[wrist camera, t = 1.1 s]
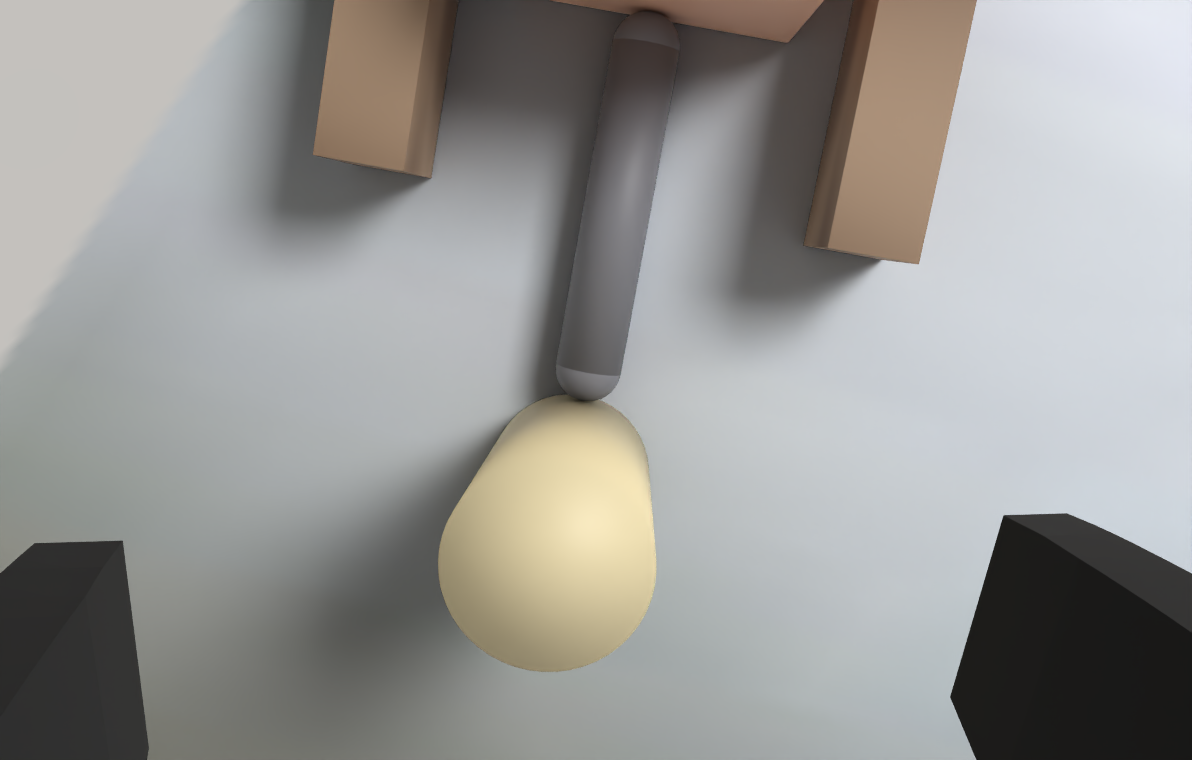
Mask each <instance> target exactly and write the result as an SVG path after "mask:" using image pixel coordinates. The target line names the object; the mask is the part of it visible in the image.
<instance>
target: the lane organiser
mask: <svg viewBox="0 0 1192 760" xmlns="http://www.w3.org/2000/svg"><path fill="white" fill-rule="evenodd" d="M458 1H459V0H334V6H333V14H332V21H331V28H330V35H329V42H328V49H327V57H326V64H325V71H324V78H323V85H322V92H321V100H320V107H319V114H318V121H317V128H316V135H315V143H314V150H313V155H316V156H320V157H324V158H329V159H333V160H337V161H341V162H346V163H350V164H355V165H360V166H366V167H371V168H377V169H383V170H388V171H394V172H399V173H405V174H410V175H416V176H421V177H427V178H431V175H432V169H433V163H434V156H435V150H436V143H437V137H438V130H439V124H440V117H441V111H442V104H443V98H444V92H445V85H446V79H447V72H448V66H449V59H450V53H451V46H452V40H453V33H454V27H455V21H456V14H457V8H458ZM976 2H977V0H853V5H852V10H851V15H850V20H849V25H848V30H847V34H846V39H845V44H844V49H843V54H842V59H841V64H840V69H839V74H838V79H837V83H836V88H835V93H834V98H833V103H832V108H831V113H830V118H829V123H828V127H827V132H826V137H825V142H824V147H823V152H822V157H821V162H820V167H819V172H818V176H817V181H816V186H815V191H814V196H813V201H812V206H811V211H810V216H809V220H808V225H807V230H806V235H805V240H804V245H803V246H809V247H814V248H820V249H825V250H831V251H836V252H842V253H848V254H853V255H859V256H864V257H870V258H875V259H881V260H888V261H896V262H904V263H912V264H919V261H920V256H921V252H922V247H923V243H924V238H925V234H926V229H927V225H928V220H929V215H930V211H931V206H932V202H933V197H934V193H935V188H936V184H937V179H938V175H939V170H940V165H941V161H942V156H943V152H944V147H945V143H946V138H947V134H948V129H949V124H950V120H951V115H952V111H953V106H954V102H955V97H956V93H957V88H958V83H959V79H960V74H961V70H962V65H963V61H964V56H965V52H966V47H967V42H968V38H969V33H970V29H971V24H972V20H973V15H974V11H975V6H976Z"/></svg>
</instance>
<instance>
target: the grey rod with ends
mask: <svg viewBox="0 0 1192 760" xmlns="http://www.w3.org/2000/svg"><path fill="white" fill-rule="evenodd" d="M551 1H556V2H562V3H567V4H573V5H579V6H584V7H590V8H595V9H601V10H606V11H612V12H618V13H623V14H629V15H630V16H628V17H627V18H626V19H624V20H623V21H622V22H621V24H620V25H619V26H618V28H617V30H616V32H615V34H614V37H613V41H612V47H611V52H610V58H609V64H608V69H607V75H606V81H605V86H604V92H603V98H602V104H601V109H600V115H599V121H598V126H597V132H596V138H595V144H594V149H593V155H592V161H591V166H590V172H589V178H588V184H587V189H586V195H585V201H584V206H583V212H582V218H581V224H580V229H579V235H578V241H577V246H576V252H575V258H574V263H573V269H572V275H571V281H570V286H569V292H568V298H567V303H566V309H565V315H564V321H563V326H562V332H561V338H560V343H559V349H558V355H557V361H556V376H557V379H558V382H559V384H560V386H561V387H562V389H563V390H564V391H565V392H566V393H567V394H566V395H557V396H551V397H548V398H544V399H542V400H539V401H537V402H535V403H533V404H531V405H529V406H528V407H526V408H524V409H523V410H522V411H521V412H519V413H518V414H517V415H516V416H515V417H514V418H513V419H512V420H511V421H510V422H509V424H508V425H507V426H506V428H505V429H504V431H503V432H502V434H501V435H500V437H499V439H498V440H497V442H496V443H495V445H494V446H493V448H492V450H491V451H490V453H489V454H488V456H487V458H486V459H485V461H484V462H483V464H482V466H481V467H480V469H479V470H478V472H477V474H476V475H475V477H474V478H473V480H472V482H471V483H470V485H469V486H468V488H467V489H466V491H465V493H464V494H463V496H462V497H461V499H460V501H459V502H458V504H457V505H456V507H455V509H454V510H453V512H452V514H451V516H450V518H449V519H448V521H447V524H446V526H445V529H444V532H443V534H442V538H441V543H440V547H439V556H438V575H439V581H440V587H441V591H442V594H443V597H444V600H445V603H446V605H447V607H448V609H449V612H450V614H451V616H452V617H453V619H454V620H455V622H456V623H457V625H458V627H459V628H460V629H461V630H462V631H463V633H464V634H465V635H466V636H467V637H468V638H469V639H470V640H471V641H472V642H473V643H474V644H475V645H476V646H477V647H479V648H480V649H482V650H483V651H484V652H486V653H487V654H489V655H490V656H492V657H494V658H496V659H498V660H500V661H501V662H504V663H507V664H509V665H512V666H514V667H518V668H522V669H526V670H532V671H540V672H558V671H566V670H572V669H576V668H579V667H583V666H586V665H588V664H591V663H593V662H596V661H598V660H600V659H602V658H603V657H605V656H607V655H609V654H610V653H611V652H613V651H614V650H615V649H617V648H618V647H619V646H621V645H622V644H623V643H624V642H625V641H626V640H627V639H628V638H629V637H630V636H631V634H632V633H633V632H634V631H635V629H636V628H637V627H638V625H639V624H640V622H641V620H642V619H643V617H644V615H645V614H646V611H647V609H648V607H649V604H650V602H651V599H652V595H653V591H654V587H655V579H656V552H655V540H654V528H653V515H652V503H651V491H650V478H649V466H648V459H647V454H646V451H645V447H644V444H643V442H642V440H641V438H640V436H639V434H638V432H637V431H636V429H635V428H634V426H633V425H632V424H631V423H630V421H629V420H628V419H627V418H626V417H625V416H624V415H623V414H622V413H620V412H619V411H618V410H616V409H615V408H614V407H612V406H610V405H608V404H607V403H605V402H603V401H600V400H599V399H602V398H603V397H605V396H607V395H608V394H609V393H611V392H612V390H613V389H614V388H615V387H616V385H617V383H618V381H619V378H620V375H621V369H622V364H623V358H624V353H625V347H626V342H627V337H628V331H629V326H630V320H631V315H632V309H633V304H634V298H635V293H636V288H637V282H638V277H639V271H640V266H641V260H642V255H643V249H644V244H645V239H646V233H647V228H648V222H649V217H650V211H651V206H652V200H653V195H654V190H655V184H656V179H657V173H658V168H659V162H660V157H661V151H662V146H663V141H664V135H665V130H666V124H667V119H668V113H669V108H670V103H671V97H672V92H673V86H674V81H675V75H676V70H677V64H678V59H679V54H680V39H679V36H678V33H677V30H676V28H675V27H674V25H673V24H672V23H671V22H673V23H679V24H684V25H690V26H695V27H701V28H707V29H712V30H718V31H723V32H729V33H734V34H740V35H746V36H751V37H757V38H762V39H768V40H773V41H779V42H785V43H788V42H789V41H790V40H791V39H792V38H793V37H794V35H795V34H796V33H797V32H798V31H799V29H800V28H801V27H802V26H803V25H804V24H805V22H806V21H807V20H808V19H809V18H810V16H811V15H812V14H813V13H814V12H815V11H816V9H817V8H818V7H819V6H820V5H821V4H822V2H823V1H824V0H551Z"/></svg>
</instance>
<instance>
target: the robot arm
mask: <svg viewBox="0 0 1192 760" xmlns="http://www.w3.org/2000/svg"><path fill="white" fill-rule="evenodd" d="M950 698H951V700H952V703H953V705H954V707H955V710H956V712H957V715H958V717H959V719H960V722H961V724H962V727H963V729H964V731H965V734H966V736H967V739H968V741H969V743H970V746H971V748H972V751H973V753H974V755H975V757H976V760H1192V574H1191V573H1190V572H1188V571H1186V570H1184V569H1182V568H1180V567H1178V566H1176V565H1174V564H1172V563H1171V562H1169V561H1167V560H1165V559H1163V558H1161V557H1159V556H1157V555H1155V554H1153V553H1151V552H1149V551H1147V550H1145V549H1143V548H1141V547H1139V546H1137V545H1135V544H1133V543H1131V542H1129V541H1127V540H1125V539H1123V538H1121V537H1119V536H1117V535H1115V534H1113V533H1111V532H1109V531H1106V530H1104V529H1102V528H1100V527H1098V526H1095V525H1093V524H1091V523H1088V522H1086V521H1084V520H1081V519H1079V518H1076V517H1074V516H1072V515H1069V514H1034V515H1004V516H1003V519H1002V523H1001V526H1000V529H999V533H998V536H997V540H996V543H995V546H994V550H993V553H992V557H991V560H990V563H989V567H988V570H987V574H986V577H985V580H984V584H983V587H982V591H981V594H980V597H979V601H978V604H977V608H976V611H975V614H974V618H973V621H972V625H971V628H970V632H969V635H968V638H967V642H966V645H965V649H964V652H963V655H962V659H961V662H960V666H959V669H958V672H957V676H956V679H955V683H954V686H953V689H952V693H951V696H950ZM148 750H149V746H148V739H147V731H146V723H145V715H144V707H143V699H142V691H141V683H140V675H139V667H138V659H137V651H136V643H135V635H134V627H133V619H132V611H131V603H130V595H129V587H128V579H127V571H126V563H125V556H124V548H123V541H99V542H64V543H34V544H33V545H32V546H31V547H30V548H29V549H27V550H26V551H25V552H24V553H23V554H22V555H20V556H19V557H18V558H17V559H16V560H15V561H14V562H12V563H11V564H10V565H9V566H8V567H7V568H6V569H5V570H4V571H2V572H1V573H0V760H147V756H148Z"/></svg>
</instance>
